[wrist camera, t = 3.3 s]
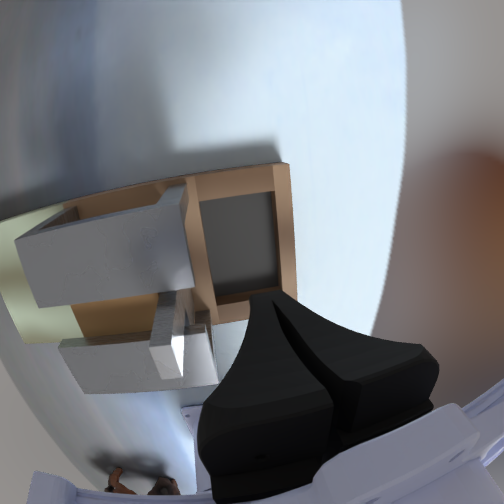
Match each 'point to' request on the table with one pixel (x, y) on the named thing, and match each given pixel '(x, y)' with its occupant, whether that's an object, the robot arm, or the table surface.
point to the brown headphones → (160, 488)
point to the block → (116, 315)
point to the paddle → (171, 331)
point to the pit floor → (240, 242)
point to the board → (199, 189)
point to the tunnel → (119, 289)
